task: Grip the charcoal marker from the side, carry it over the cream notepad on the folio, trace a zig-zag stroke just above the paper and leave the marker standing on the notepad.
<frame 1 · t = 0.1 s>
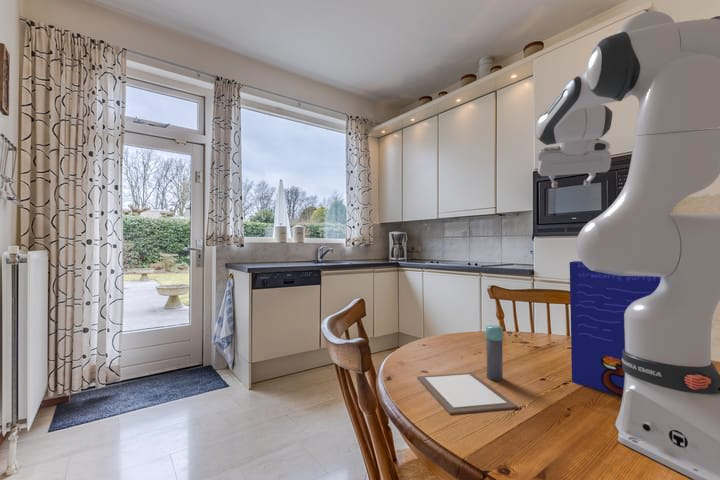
hand: (570, 186, 112), 54 cm above the table, tool tilted 30°, fingers open, 8 cm apart
folio: (462, 391, 77), on the table
cereal box: (630, 395, 75), on the table
marker: (494, 378, 85), on the table
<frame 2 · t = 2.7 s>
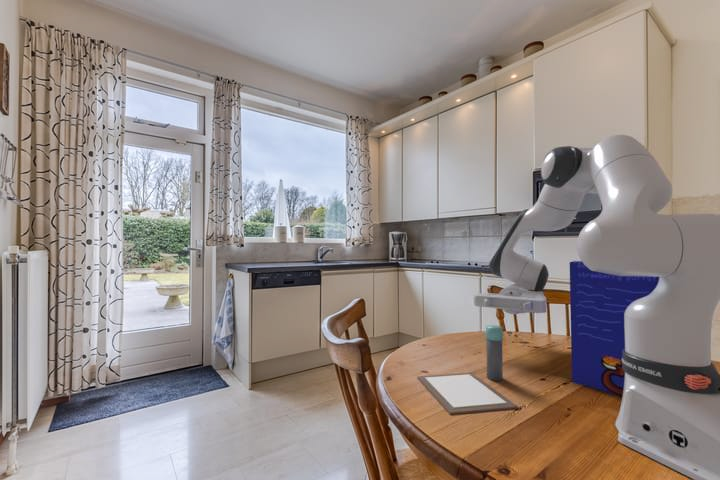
hand: (504, 305, 95), 17 cm above the table, tool horizontal, fingers open, 8 cm apart
nothing on the table moved.
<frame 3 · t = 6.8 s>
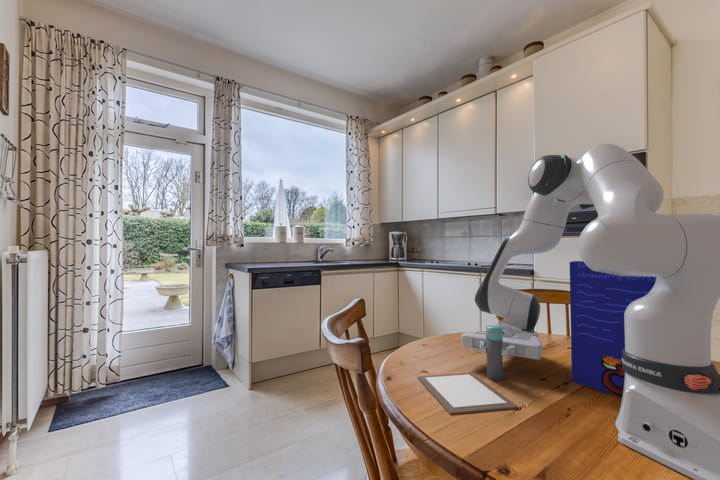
hand: (493, 351, 84), 7 cm above the table, tool horizontal, fingers closed on marker, 4 cm apart
marker: (494, 378, 85), on the table, touching gripper
everything else where it was.
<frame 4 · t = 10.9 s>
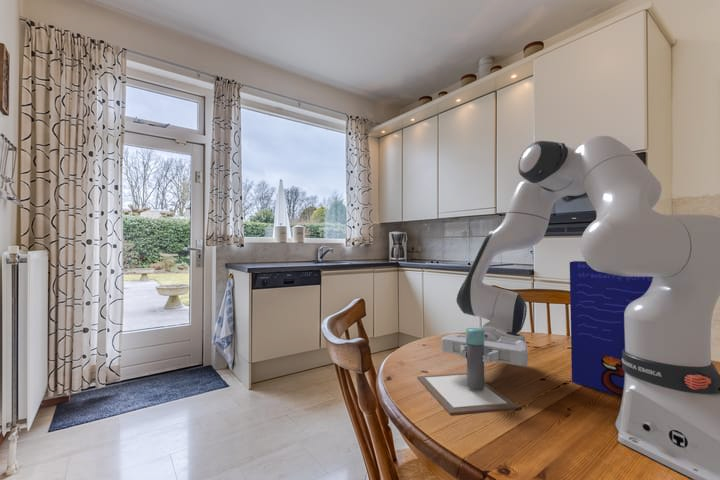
hand: (474, 356, 76), 8 cm above the table, tool horizontal, fingers closed on marker, 4 cm apart
marker: (475, 386, 76), point 1 cm above the table, touching gripper
everything else where it was.
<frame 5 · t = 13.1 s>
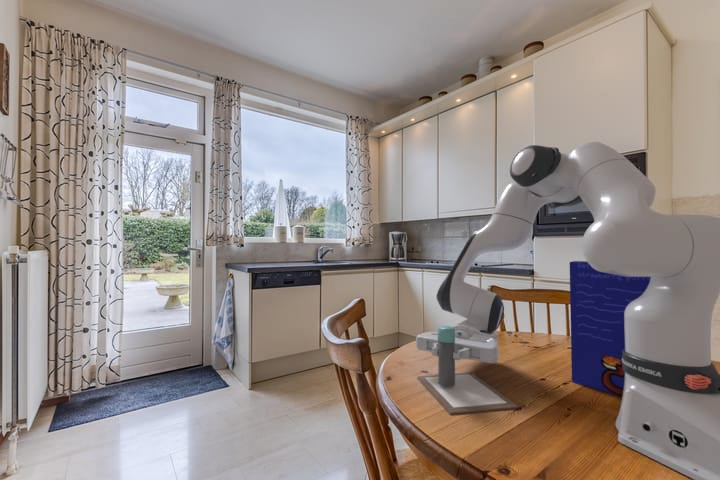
hand: (445, 354, 78), 8 cm above the table, tool horizontal, fingers closed on marker, 4 cm apart
marker: (446, 383, 78), point 1 cm above the table, touching gripper
everything else where it was.
when the fingers open (8 cm above the table, at t = 14.9 s): marker stays where it is, resting on folio.
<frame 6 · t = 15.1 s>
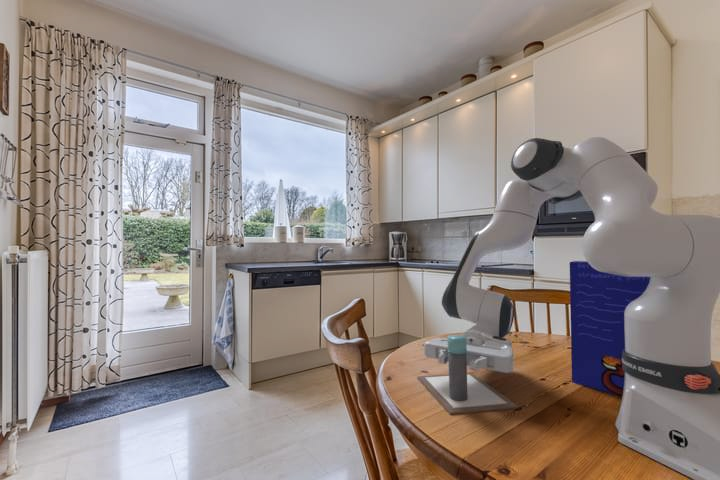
hand: (456, 363, 72), 8 cm above the table, tool horizontal, fingers open, 5 cm apart
marker: (458, 397, 72), point 1 cm above the table, touching folio
everything else where it was.
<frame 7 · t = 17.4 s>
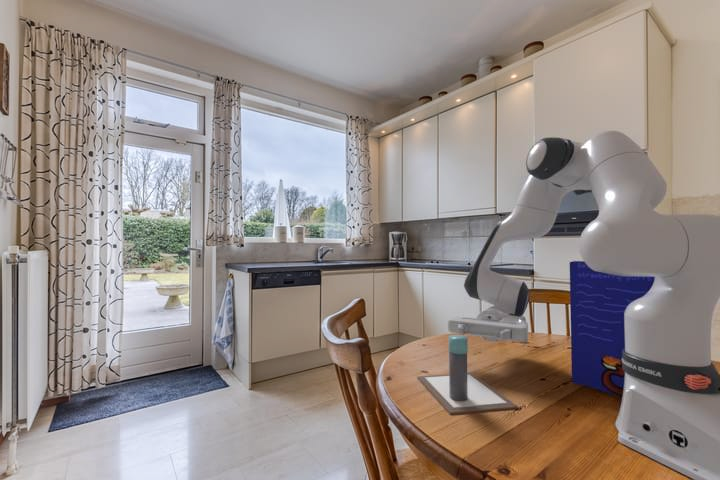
hand: (479, 333, 83), 12 cm above the table, tool horizontal, fingers open, 8 cm apart
nothing on the table moved.
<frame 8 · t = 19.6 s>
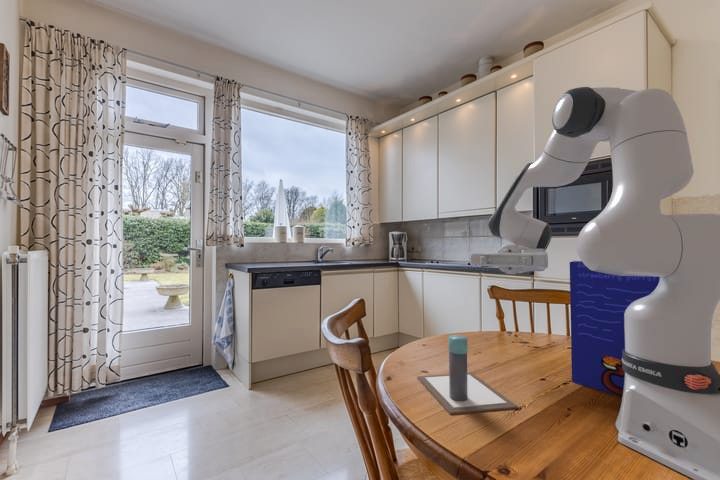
hand: (501, 260, 87), 30 cm above the table, tool horizontal, fingers open, 8 cm apart
nothing on the table moved.
at the end: marker inside the target area (4.9 cm from its centre), point 0.6 cm above the table; marker tilted 0°; marker moved 18.0 cm from its start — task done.
